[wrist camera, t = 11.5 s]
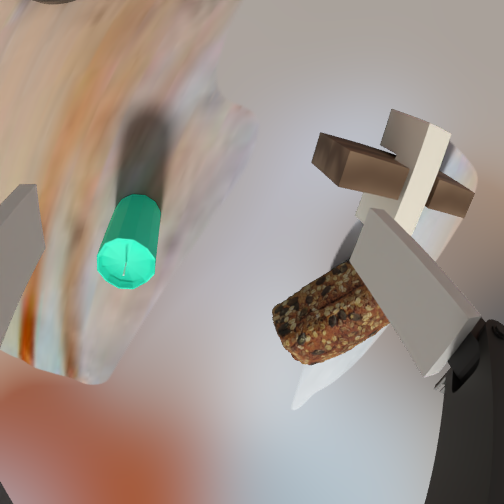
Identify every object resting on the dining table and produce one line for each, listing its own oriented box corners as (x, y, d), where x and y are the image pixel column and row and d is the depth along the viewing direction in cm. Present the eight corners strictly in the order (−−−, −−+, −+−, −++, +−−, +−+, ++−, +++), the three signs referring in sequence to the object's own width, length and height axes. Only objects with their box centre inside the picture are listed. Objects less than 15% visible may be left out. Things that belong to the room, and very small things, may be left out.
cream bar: (391, 108, 36) (430, 122, 29) (413, 118, 37) (451, 133, 30) (354, 215, 44) (382, 245, 37) (376, 219, 45) (405, 248, 38)
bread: (367, 241, 47) (400, 281, 39) (384, 282, 53) (412, 321, 45) (265, 305, 50) (281, 354, 42) (294, 337, 56) (311, 382, 48)
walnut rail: (320, 132, 36) (350, 150, 30) (440, 171, 42) (474, 193, 36) (311, 162, 38) (338, 186, 32) (431, 194, 44) (464, 218, 38)
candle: (120, 240, 39) (104, 302, 29) (109, 198, 36) (84, 252, 26) (165, 233, 40) (161, 295, 30) (156, 190, 37) (147, 242, 27)
